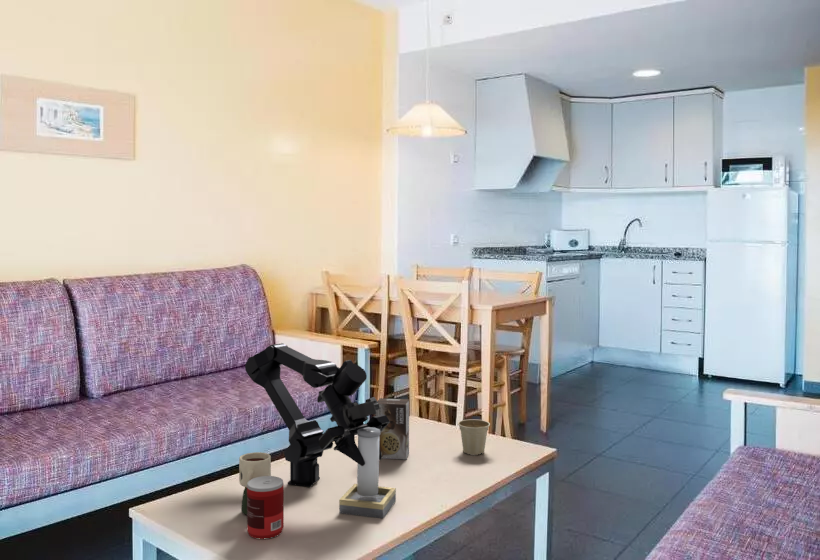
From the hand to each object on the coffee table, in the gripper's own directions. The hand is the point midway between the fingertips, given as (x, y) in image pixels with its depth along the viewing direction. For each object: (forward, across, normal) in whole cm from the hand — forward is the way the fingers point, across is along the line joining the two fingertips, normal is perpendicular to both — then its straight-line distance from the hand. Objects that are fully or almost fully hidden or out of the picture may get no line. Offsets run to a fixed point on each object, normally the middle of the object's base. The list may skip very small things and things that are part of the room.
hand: (372, 462), depth 164 cm
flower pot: (+2, +50, +14) cm, 52 cm away
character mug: (-4, -20, +21) cm, 29 cm away
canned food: (+3, -25, +13) cm, 28 cm away
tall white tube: (+4, 0, +6) cm, 8 cm away
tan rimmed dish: (+7, 0, +9) cm, 11 cm away
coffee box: (-8, +31, +25) cm, 41 cm away
